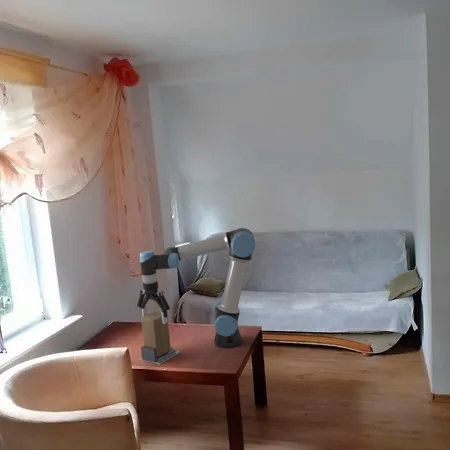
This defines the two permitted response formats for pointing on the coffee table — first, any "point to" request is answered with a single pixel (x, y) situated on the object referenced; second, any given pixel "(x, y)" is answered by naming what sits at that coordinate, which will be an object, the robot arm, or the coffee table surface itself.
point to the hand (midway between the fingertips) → (155, 321)
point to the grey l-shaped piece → (151, 355)
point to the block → (156, 333)
